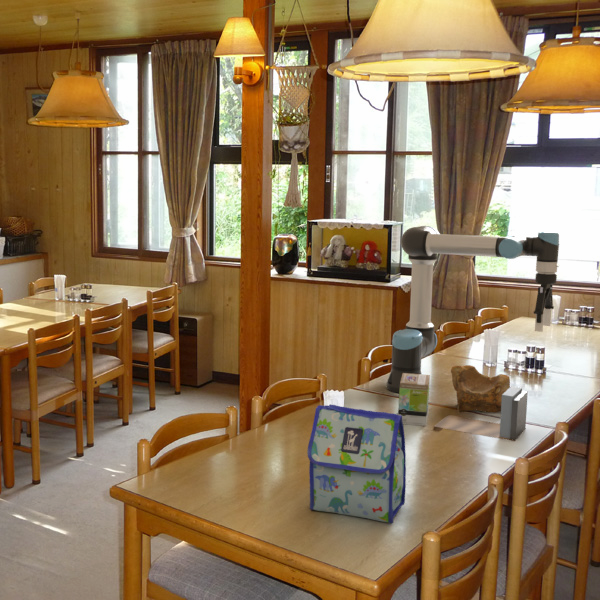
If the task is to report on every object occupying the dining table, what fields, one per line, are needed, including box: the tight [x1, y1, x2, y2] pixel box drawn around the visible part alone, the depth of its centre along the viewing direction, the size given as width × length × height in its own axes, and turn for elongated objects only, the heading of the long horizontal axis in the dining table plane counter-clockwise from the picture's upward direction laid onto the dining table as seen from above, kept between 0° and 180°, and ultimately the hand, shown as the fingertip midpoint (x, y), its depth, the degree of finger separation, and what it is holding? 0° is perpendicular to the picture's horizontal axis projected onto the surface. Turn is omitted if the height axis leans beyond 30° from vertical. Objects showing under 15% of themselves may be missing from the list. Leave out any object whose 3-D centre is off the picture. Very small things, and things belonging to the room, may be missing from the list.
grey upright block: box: [499, 385, 523, 439], centre depth 240 cm, size 4×12×14 cm, turn 150°
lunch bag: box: [306, 403, 407, 524], centre depth 182 cm, size 22×17×26 cm
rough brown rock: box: [450, 364, 511, 414], centre depth 268 cm, size 23×17×15 cm
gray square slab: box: [510, 389, 529, 441], centre depth 239 cm, size 2×13×13 cm, turn 150°
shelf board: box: [433, 414, 527, 442], centre depth 247 cm, size 27×15×1 cm, turn 60°
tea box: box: [397, 373, 431, 427], centre depth 257 cm, size 15×10×15 cm, turn 168°
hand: (542, 328), depth 279 cm, fingers open, 13 cm apart
